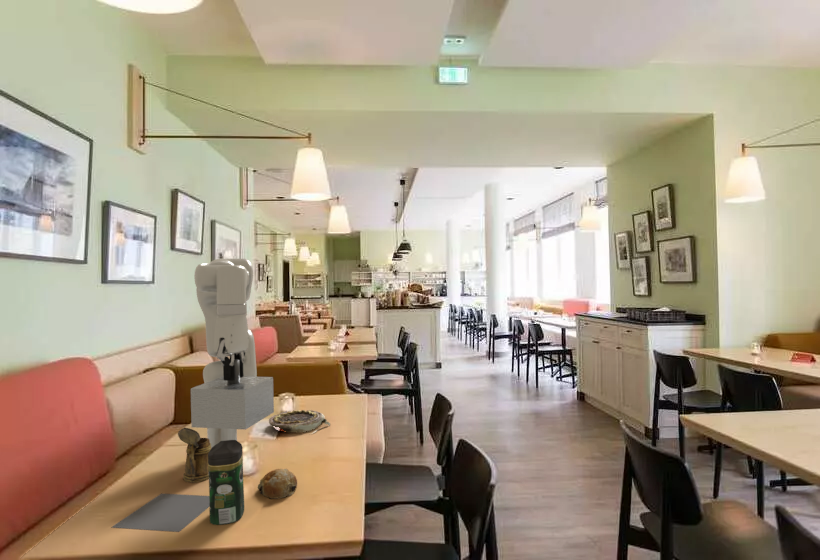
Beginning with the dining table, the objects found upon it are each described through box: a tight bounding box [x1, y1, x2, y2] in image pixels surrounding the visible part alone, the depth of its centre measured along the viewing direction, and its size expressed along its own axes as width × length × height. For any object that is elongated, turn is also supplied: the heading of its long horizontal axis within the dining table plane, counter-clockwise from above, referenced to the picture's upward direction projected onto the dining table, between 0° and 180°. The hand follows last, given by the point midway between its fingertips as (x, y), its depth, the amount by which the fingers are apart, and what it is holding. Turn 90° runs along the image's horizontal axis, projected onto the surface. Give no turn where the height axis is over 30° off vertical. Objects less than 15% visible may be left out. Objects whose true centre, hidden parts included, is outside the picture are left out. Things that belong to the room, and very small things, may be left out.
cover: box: [190, 359, 275, 431], centre depth 128 cm, size 15×15×16 cm
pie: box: [268, 409, 331, 435], centre depth 193 cm, size 28×27×5 cm
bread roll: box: [257, 468, 298, 500], centre depth 133 cm, size 10×10×8 cm
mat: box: [110, 492, 210, 533], centre depth 122 cm, size 18×18×1 cm
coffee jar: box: [208, 440, 245, 526], centre depth 119 cm, size 10×8×19 cm
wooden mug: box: [177, 427, 211, 484], centre depth 141 cm, size 9×14×18 cm, turn 1°
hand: (233, 378), depth 128 cm, fingers closed on cover, 3 cm apart
